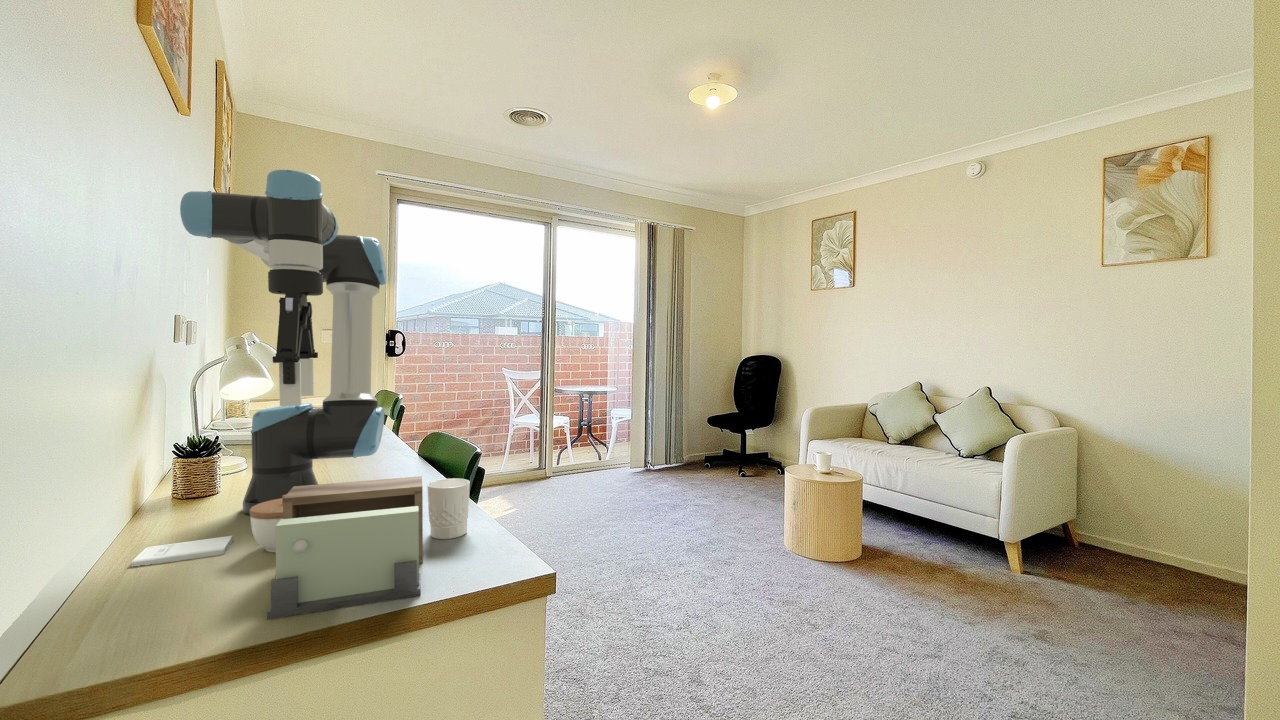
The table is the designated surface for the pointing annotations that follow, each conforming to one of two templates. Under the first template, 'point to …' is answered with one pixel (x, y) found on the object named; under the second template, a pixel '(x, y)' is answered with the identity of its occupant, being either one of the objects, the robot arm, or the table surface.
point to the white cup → (448, 507)
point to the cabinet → (356, 499)
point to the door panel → (346, 551)
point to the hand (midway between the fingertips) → (298, 400)
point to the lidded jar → (266, 522)
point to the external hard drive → (183, 551)
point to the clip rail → (287, 596)
